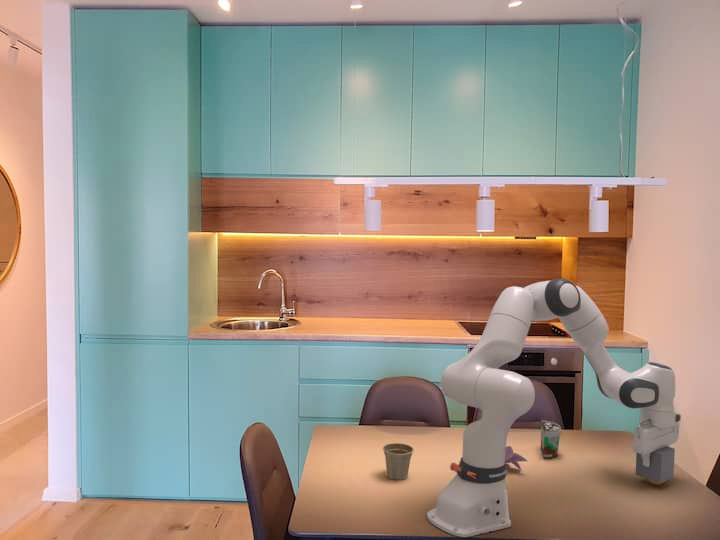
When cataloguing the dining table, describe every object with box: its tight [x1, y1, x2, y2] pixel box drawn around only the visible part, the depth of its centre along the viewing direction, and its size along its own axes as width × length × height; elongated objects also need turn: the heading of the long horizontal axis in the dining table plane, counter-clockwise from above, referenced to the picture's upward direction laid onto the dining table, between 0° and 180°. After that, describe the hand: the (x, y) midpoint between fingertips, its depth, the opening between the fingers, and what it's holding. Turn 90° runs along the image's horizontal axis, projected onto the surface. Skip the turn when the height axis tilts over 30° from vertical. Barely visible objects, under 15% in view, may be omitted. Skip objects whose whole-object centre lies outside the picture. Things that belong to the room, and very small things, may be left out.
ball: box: [647, 479, 661, 485], centre depth 180 cm, size 5×5×5 cm
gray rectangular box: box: [634, 446, 676, 485], centre depth 180 cm, size 8×8×9 cm
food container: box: [540, 419, 563, 460], centre depth 203 cm, size 12×6×10 cm, turn 168°
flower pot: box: [382, 442, 415, 481], centre depth 182 cm, size 9×9×9 cm
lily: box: [505, 445, 528, 471], centre depth 189 cm, size 12×12×10 cm
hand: (654, 462), depth 181 cm, fingers closed on gray rectangular box, 8 cm apart
